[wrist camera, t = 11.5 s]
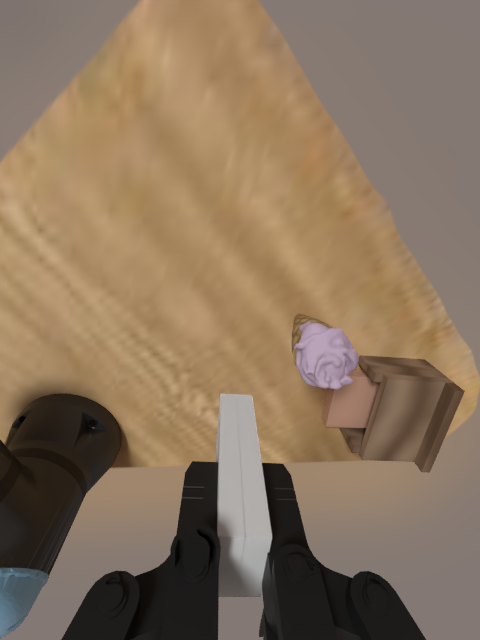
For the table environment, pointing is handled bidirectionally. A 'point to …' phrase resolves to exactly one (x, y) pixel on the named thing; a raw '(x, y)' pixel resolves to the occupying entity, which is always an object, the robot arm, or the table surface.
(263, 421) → the table surface
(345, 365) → the ice cream cone
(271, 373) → the table surface
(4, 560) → the robot arm
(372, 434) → the brown channel bracket
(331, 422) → the pinkish brown block
